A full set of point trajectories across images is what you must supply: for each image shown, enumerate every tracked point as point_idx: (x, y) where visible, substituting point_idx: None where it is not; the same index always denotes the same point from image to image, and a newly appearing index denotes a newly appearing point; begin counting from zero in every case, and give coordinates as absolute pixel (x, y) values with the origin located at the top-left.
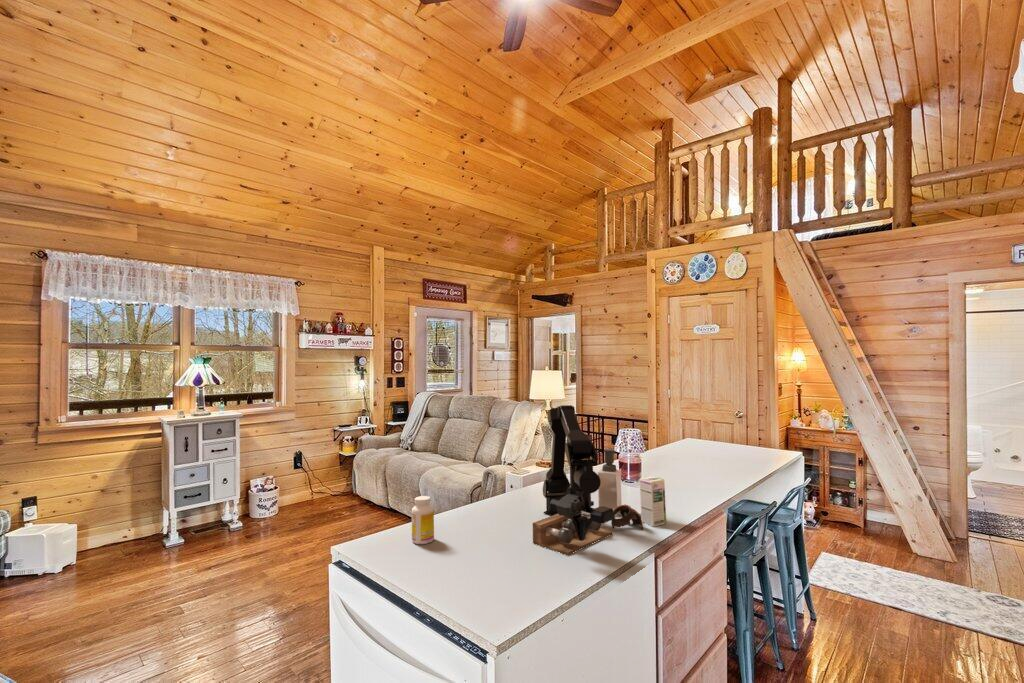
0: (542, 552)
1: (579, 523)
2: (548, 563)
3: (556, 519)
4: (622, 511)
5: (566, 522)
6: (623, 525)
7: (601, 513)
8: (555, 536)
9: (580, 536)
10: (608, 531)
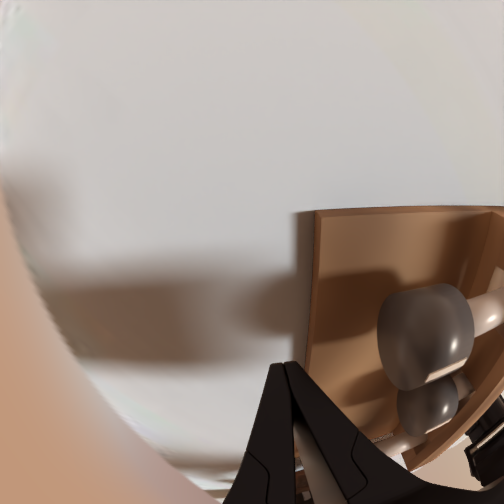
0: (449, 143)
1: (329, 493)
2: (320, 20)
3: (500, 378)
4: (313, 500)
5: (452, 403)
6: None
7: None
8: None
9: (282, 388)
10: None
